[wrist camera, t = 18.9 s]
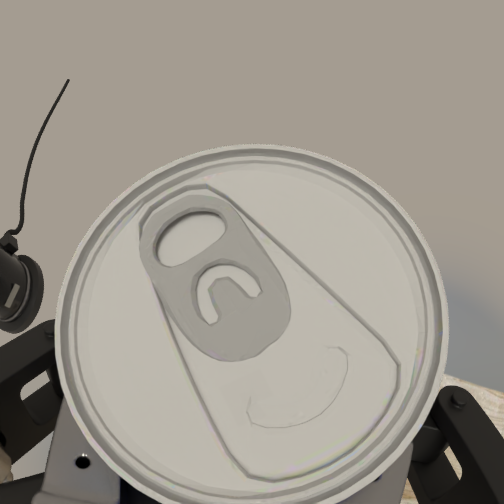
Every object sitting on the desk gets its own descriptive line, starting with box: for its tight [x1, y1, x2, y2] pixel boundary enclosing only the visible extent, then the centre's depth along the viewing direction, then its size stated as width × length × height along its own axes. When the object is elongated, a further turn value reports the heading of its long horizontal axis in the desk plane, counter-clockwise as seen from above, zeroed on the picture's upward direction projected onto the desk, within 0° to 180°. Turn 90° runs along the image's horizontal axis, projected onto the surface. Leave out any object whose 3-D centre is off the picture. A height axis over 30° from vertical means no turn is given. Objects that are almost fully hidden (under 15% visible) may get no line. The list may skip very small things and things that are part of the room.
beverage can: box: [55, 144, 449, 504], centre depth 10 cm, size 5×5×15 cm
